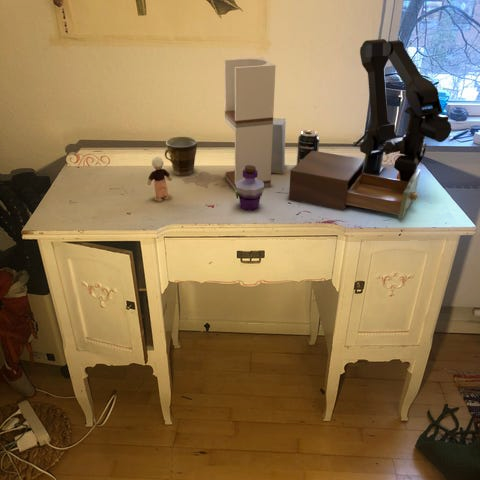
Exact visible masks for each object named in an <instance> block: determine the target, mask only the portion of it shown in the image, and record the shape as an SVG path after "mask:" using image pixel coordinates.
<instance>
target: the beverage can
mask: <svg viewBox="0 0 480 480" xmlns="http://www.w3.org/2000/svg"><path fill="white" fill-rule="evenodd" d="M319 146H320V136H319V132H317V131H316V130H312V129H305V130H302V131H300V134H299V136H298V139H297V151H296V152H297V153H296V155H297V156H296V165H297V164H298V163H299V162H300V161H301V160H302V159H304V158H305V157H306V156H307V155H308V154H309V153H310V152H311V151H318V152H319V149H320V147H319Z"/></svg>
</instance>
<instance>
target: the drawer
mask: <svg viewBox="0 0 480 480" xmlns="http://www.w3.org/2000/svg"><path fill="white" fill-rule="evenodd" d="M420 175H421V169H419V168H417V169H416V171H415V173H414V175H413V176H412V178H411V180H410V182H408V181H402V180H397V179H396V178H390V177H385V176H379V175H375V174H367V173H363V174H362V173H361V174H360V176H359V177H358V178H357V180H356V181H355V182H354V183H353V185H352V186H351V187H350V189H349V190H348V191H347V195H346V202H345V204H346V205H347V206H352V207H357V208H362V209H366V210H373V211H377V212H383V213H386V214H392V215H396V216H397V215H398V219H404V217H405V216H406V213H407V211H408V209H409V207H410V205H411V203H412V202H413V201H417V199H418V195H419V193H418V192H417V188H418V185H419V184H418V183H419V180H420V179H419V178H420Z"/></svg>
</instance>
